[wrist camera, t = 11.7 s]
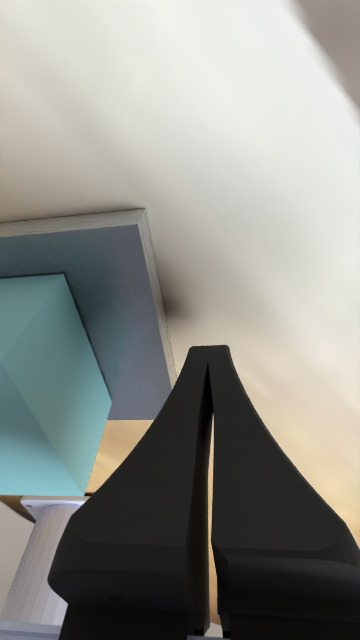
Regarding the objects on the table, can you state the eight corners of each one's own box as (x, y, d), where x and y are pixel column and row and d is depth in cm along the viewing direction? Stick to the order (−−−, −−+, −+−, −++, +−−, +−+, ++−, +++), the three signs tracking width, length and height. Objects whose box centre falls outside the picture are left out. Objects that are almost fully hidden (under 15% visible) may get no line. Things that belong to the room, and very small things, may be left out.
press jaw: (112, 402, 16) (83, 496, 12) (15, 404, 17) (-37, 494, 13) (63, 273, 12) (0, 361, 8) (-63, 283, 12) (-170, 367, 9)
